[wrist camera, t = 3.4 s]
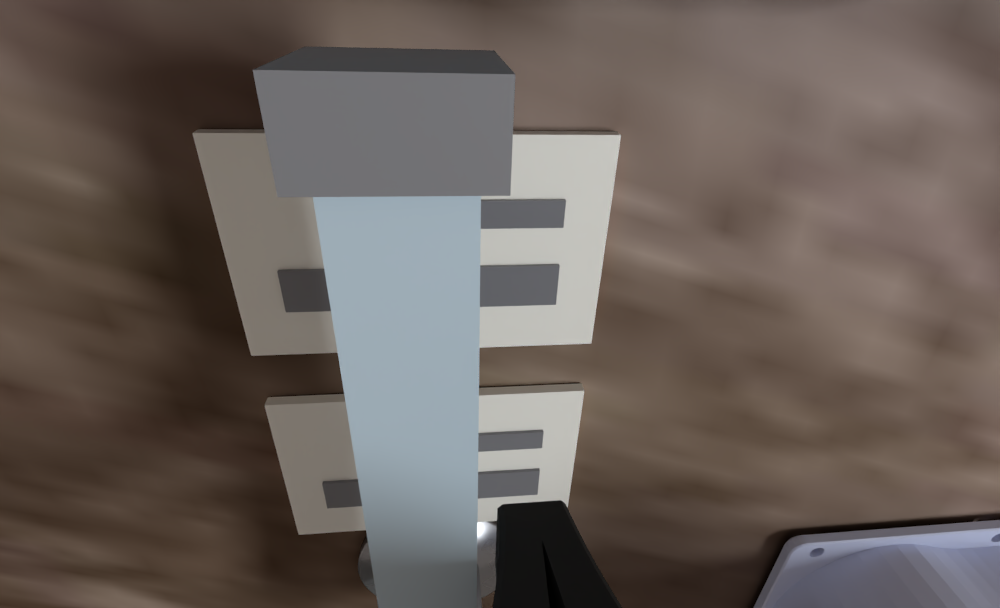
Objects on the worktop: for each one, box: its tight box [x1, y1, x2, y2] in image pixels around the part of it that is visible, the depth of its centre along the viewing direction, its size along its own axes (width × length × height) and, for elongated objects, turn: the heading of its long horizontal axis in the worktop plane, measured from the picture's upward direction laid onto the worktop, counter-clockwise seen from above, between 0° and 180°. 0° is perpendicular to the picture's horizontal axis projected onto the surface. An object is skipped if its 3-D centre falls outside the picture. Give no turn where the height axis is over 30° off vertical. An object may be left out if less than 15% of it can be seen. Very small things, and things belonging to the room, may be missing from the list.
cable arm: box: [253, 47, 515, 608], centre depth 11 cm, size 16×3×5 cm, turn 178°
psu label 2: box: [264, 383, 584, 535], centre depth 15 cm, size 8×5×1 cm, turn 88°
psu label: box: [192, 129, 621, 356], centre depth 11 cm, size 8×5×1 cm, turn 88°
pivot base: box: [358, 521, 497, 598], centre depth 17 cm, size 5×5×1 cm
